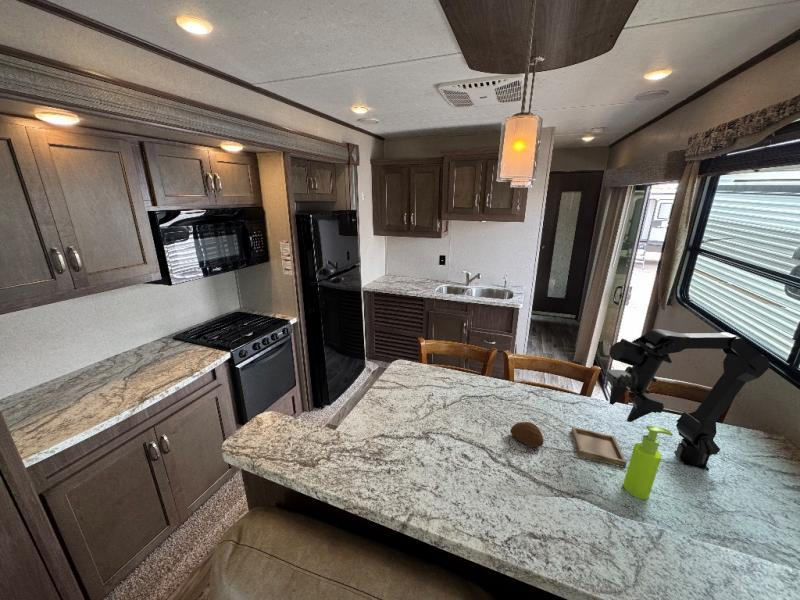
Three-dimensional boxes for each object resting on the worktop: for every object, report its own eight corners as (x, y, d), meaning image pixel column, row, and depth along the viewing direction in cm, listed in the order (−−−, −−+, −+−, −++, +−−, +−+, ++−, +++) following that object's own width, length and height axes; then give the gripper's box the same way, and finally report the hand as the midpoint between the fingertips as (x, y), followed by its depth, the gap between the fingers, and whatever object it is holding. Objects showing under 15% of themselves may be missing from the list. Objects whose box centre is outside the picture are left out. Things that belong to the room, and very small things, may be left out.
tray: (612, 441, 107) (614, 436, 106) (625, 467, 95) (626, 462, 95) (571, 431, 111) (572, 426, 110) (578, 455, 99) (579, 450, 99)
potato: (513, 429, 110) (516, 412, 108) (544, 442, 104) (548, 424, 102) (506, 439, 104) (510, 421, 103) (539, 454, 99) (543, 435, 97)
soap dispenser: (657, 502, 84) (679, 438, 79) (629, 496, 85) (648, 433, 80) (645, 484, 89) (664, 424, 84) (619, 479, 91) (636, 419, 86)
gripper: (601, 349, 103) (580, 389, 107) (639, 376, 85) (612, 423, 89) (634, 359, 103) (611, 399, 107) (678, 388, 85) (649, 435, 89)
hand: (619, 412), depth 98 cm, fingers open, 9 cm apart
